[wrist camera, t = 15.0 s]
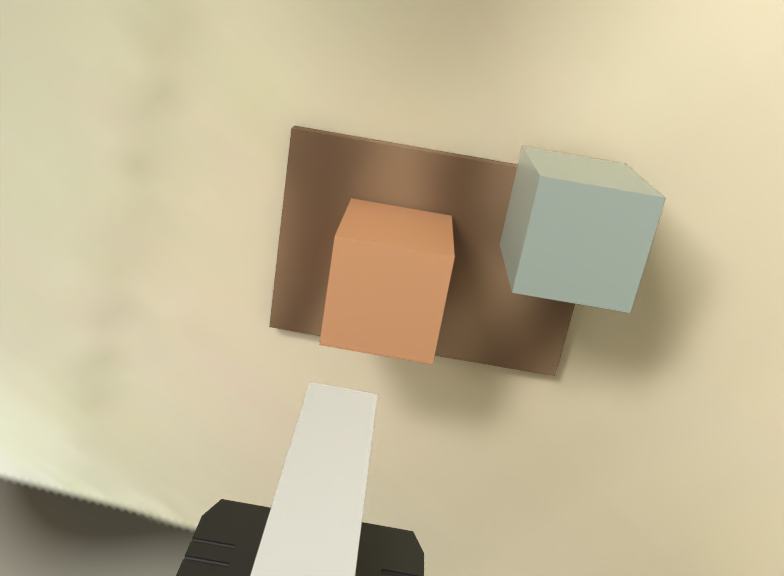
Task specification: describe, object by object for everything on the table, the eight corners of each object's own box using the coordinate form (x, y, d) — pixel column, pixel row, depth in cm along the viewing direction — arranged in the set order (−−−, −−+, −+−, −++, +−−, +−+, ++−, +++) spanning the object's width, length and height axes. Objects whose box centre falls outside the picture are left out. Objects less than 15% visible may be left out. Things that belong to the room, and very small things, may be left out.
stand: (272, 321, 42) (269, 326, 41) (294, 125, 37) (291, 128, 37) (552, 369, 42) (554, 375, 41) (604, 179, 38) (608, 183, 37)
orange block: (337, 291, 40) (319, 344, 33) (351, 198, 38) (334, 236, 32) (433, 308, 40) (432, 364, 33) (451, 215, 38) (454, 257, 32)
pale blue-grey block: (499, 244, 38) (512, 292, 32) (522, 145, 36) (540, 175, 30) (598, 261, 38) (630, 312, 32) (625, 163, 36) (665, 197, 30)
